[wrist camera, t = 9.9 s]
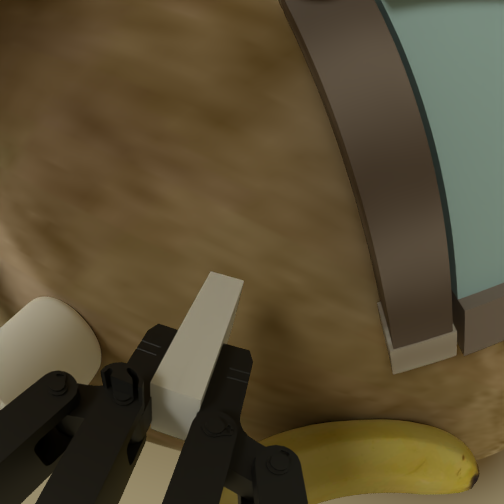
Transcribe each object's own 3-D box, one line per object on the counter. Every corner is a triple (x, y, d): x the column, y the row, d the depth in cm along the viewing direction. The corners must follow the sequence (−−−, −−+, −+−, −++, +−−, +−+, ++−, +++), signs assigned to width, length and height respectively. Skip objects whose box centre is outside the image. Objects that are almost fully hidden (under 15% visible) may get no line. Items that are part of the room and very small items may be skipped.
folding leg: (264, -16, 11) (247, -57, 7) (330, -34, 10) (335, -79, 6) (381, 324, 18) (393, 378, 14) (434, 308, 17) (458, 359, 13)
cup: (82, 295, 21) (-7, 385, 12) (132, 405, 26) (85, 491, 17) (19, 291, 23) (-56, 357, 14) (70, 389, 28) (21, 457, 18)
